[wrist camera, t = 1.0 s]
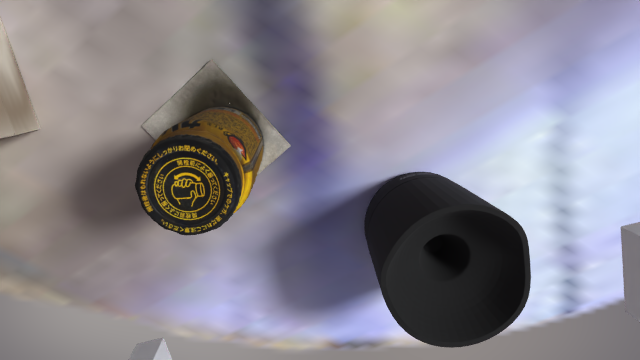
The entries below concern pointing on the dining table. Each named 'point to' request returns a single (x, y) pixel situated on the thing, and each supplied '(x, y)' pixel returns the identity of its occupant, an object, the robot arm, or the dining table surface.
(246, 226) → the dining table surface
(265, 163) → the condiment
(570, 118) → the dining table surface
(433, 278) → the pen holder
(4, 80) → the cream flat block
